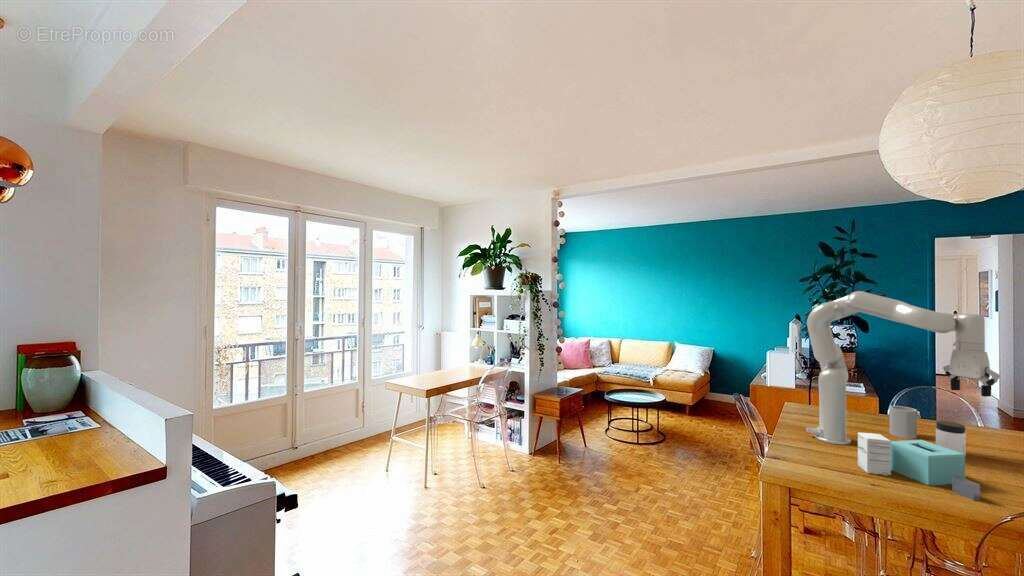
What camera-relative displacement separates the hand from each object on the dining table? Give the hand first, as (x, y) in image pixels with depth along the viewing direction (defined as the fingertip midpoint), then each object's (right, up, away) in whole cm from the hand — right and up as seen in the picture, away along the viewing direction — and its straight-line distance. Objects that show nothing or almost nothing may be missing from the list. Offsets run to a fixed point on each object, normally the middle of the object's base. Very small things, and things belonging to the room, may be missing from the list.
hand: (970, 393), depth 162 cm
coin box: (-25, -27, -8) cm, 38 cm away
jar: (+5, -28, +12) cm, 31 cm away
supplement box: (-39, -27, -4) cm, 48 cm away
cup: (+6, -28, +35) cm, 45 cm away
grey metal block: (-26, -27, -23) cm, 44 cm away
